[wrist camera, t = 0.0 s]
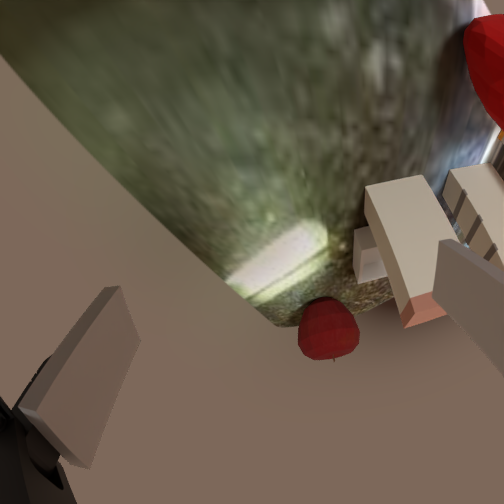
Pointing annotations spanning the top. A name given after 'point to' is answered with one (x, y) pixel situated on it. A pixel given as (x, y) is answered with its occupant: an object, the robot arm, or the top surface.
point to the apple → (327, 330)
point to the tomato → (487, 62)
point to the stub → (408, 242)
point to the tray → (366, 256)
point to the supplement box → (501, 136)
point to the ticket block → (478, 209)
